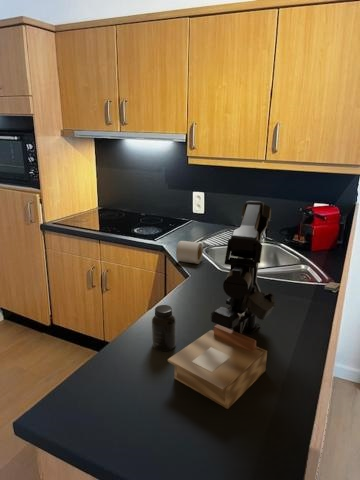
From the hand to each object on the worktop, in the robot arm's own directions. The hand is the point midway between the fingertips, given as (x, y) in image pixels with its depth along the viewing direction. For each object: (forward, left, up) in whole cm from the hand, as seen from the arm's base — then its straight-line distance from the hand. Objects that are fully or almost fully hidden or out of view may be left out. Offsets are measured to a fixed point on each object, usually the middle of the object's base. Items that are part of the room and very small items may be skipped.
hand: (238, 335), depth 95 cm
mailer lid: (+10, 0, -1) cm, 10 cm away
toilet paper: (-52, -59, -8) cm, 79 cm away
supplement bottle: (+8, -20, -8) cm, 23 cm away
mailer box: (+8, 0, -8) cm, 11 cm away
